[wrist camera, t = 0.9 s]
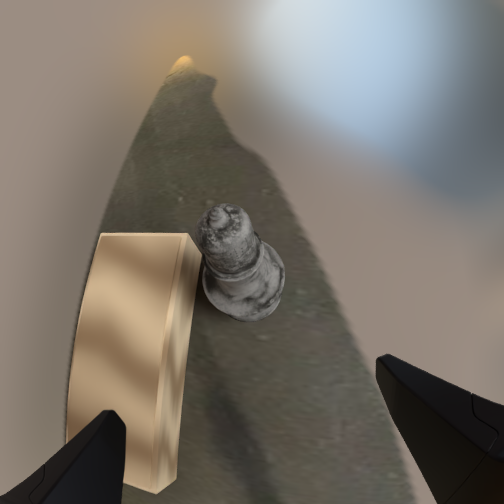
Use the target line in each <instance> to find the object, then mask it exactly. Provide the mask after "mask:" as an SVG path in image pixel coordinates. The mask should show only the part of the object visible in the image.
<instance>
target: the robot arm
mask: <svg viewBox="0 0 504 504" xmlns="http://www.w3.org/2000/svg"><path fill="white" fill-rule="evenodd" d="M376 380H377V383H378V385H379V388H380V390H381V393H382V395H383V397H384V400H385V402H386V405H387V407H388V410H389V412H390V415H391V417H392V419H393V421H394V423H395V425H396V427H397V428H398V430H399V432H400V434H401V436H402V437H403V439H404V441H405V443H406V445H407V447H408V448H409V450H410V452H411V454H412V456H413V458H414V459H415V461H416V463H417V465H418V467H419V469H420V471H421V473H422V475H423V477H424V479H425V481H426V482H427V484H428V486H429V488H430V490H431V492H432V494H433V496H434V498H435V500H436V502H437V504H504V405H501V404H498V403H495V402H492V401H490V400H487V399H485V398H483V397H480V396H478V395H476V394H473V393H472V394H471V392H469V391H466V390H464V389H462V388H460V387H458V386H456V385H454V384H451V383H449V382H447V381H445V380H443V379H441V378H438V377H436V376H434V375H432V374H430V373H428V372H426V371H424V370H421V369H419V368H417V367H415V366H413V365H411V364H409V363H407V362H405V361H403V360H401V359H399V358H397V357H394V356H392V355H390V354H385V355H383V356H380V357H378V358H377V359H376ZM125 460H126V425H125V423H124V422H123V420H122V419H121V418H120V417H119V415H118V414H117V413H116V411H114V410H103V411H102V412H101V413H99V414H98V415H97V416H96V417H95V418H94V419H93V420H92V421H91V422H90V423H89V424H87V425H86V426H85V427H84V428H83V429H82V430H81V431H80V432H79V433H78V434H77V435H75V436H74V437H73V438H72V439H71V440H70V441H69V442H68V443H67V444H66V445H64V446H63V447H62V448H61V449H60V450H59V451H58V452H57V453H56V454H54V456H52V457H51V458H50V459H49V460H48V461H47V462H46V463H45V464H43V465H42V466H41V467H40V468H39V469H38V470H36V471H35V472H34V473H33V474H32V475H31V476H29V477H28V478H27V479H25V480H24V481H23V482H21V483H20V484H19V485H17V486H16V487H14V488H13V489H11V490H10V491H9V492H7V493H6V494H4V495H2V496H0V504H121V499H122V489H123V480H124V471H125Z"/></svg>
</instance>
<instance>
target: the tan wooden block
mask: <svg viewBox="0 0 504 504" xmlns="http://www.w3.org/2000/svg"><path fill="white" fill-rule="evenodd" d="M201 257H202V254H201V253H200V251H199V250H198V248H197V247H196V245H195V244H194V242H193V241H192V239H191V238H190V236H189V234H188V233H101V235H100V238H99V241H98V245H97V248H96V251H95V255H94V258H93V262H92V265H91V269H90V273H89V277H88V281H87V285H86V289H85V293H84V297H83V302H82V307H81V311H80V316H79V321H78V327H77V332H76V338H75V344H74V351H73V357H72V365H71V373H70V382H69V393H68V407H67V429H66V444H67V443H68V442H69V441H70V440H71V439H72V438H73V437H74V436H75V435H77V434H78V433H79V432H80V431H81V430H82V429H83V428H84V427H85V426H86V425H87V424H89V423H90V422H91V421H92V420H93V419H94V418H95V417H96V416H97V415H98V414H99V413H101V412H102V411H103V410H114V411H116V413H117V414H118V415H119V417H120V418H121V419H122V420H123V422H124V423H125V425H126V460H125V471H124V480H123V483H126V484H129V485H131V486H134V487H137V488H140V489H143V490H145V491H148V492H152V493H155V494H157V493H159V492H160V491H161V490H163V489H164V488H165V487H167V486H168V485H169V484H171V483H172V482H173V481H175V480H176V477H177V460H178V445H179V432H180V420H181V409H182V399H183V389H184V380H185V371H186V362H187V354H188V346H189V338H190V330H191V323H192V316H193V309H194V302H195V295H196V288H197V282H198V275H199V269H200V263H201Z"/></svg>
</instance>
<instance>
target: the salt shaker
mask: <svg viewBox="0 0 504 504" xmlns="http://www.w3.org/2000/svg"><path fill="white" fill-rule="evenodd" d="M195 234H196V239H197V242H198V244H199V246H200V247H201V249H202V251H203V261H204V265H205V267H204V271H203V281H202V283H203V287H204V291H205V294H206V296H207V297H208V299H209V301H210V302H211V303H212V304H213V305H214V306H215V307H216V308H217V309H218V310H220V311H222V312H224V313H226V314H228V315H229V316H230V317H232V318H234V319H236V320H239V321H243V322H255V321H258V320H262V319H264V318H265V317H267V316H269V315H270V314H271V313H272V312H273V311H274V310H275V309H276V307H277V306H278V304H279V302H280V299H281V295H282V289H283V286H284V281H285V270H284V265H283V262H282V260H281V257H280V256H279V255H278V253H277V252H276V251H275V249H273V248H272V247H271V246H269V245H268V244H267V243H265V242H262V240H261V238H260V237H259V235H258V234H257V233H256V232H255V231H253V228H252V224H251V221H250V218H249V216H248V215H247V214H246V212H245V211H244V210H243V209H242V208H240V207H239V206H237V205H234V204H227V203H226V204H218V205H215V206H213V207H211V208H209V209H208V210H206V211H205V212H204V213H203V214H202V215H201V217H200V218H199V220H198V222H197V224H196V230H195Z"/></svg>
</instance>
